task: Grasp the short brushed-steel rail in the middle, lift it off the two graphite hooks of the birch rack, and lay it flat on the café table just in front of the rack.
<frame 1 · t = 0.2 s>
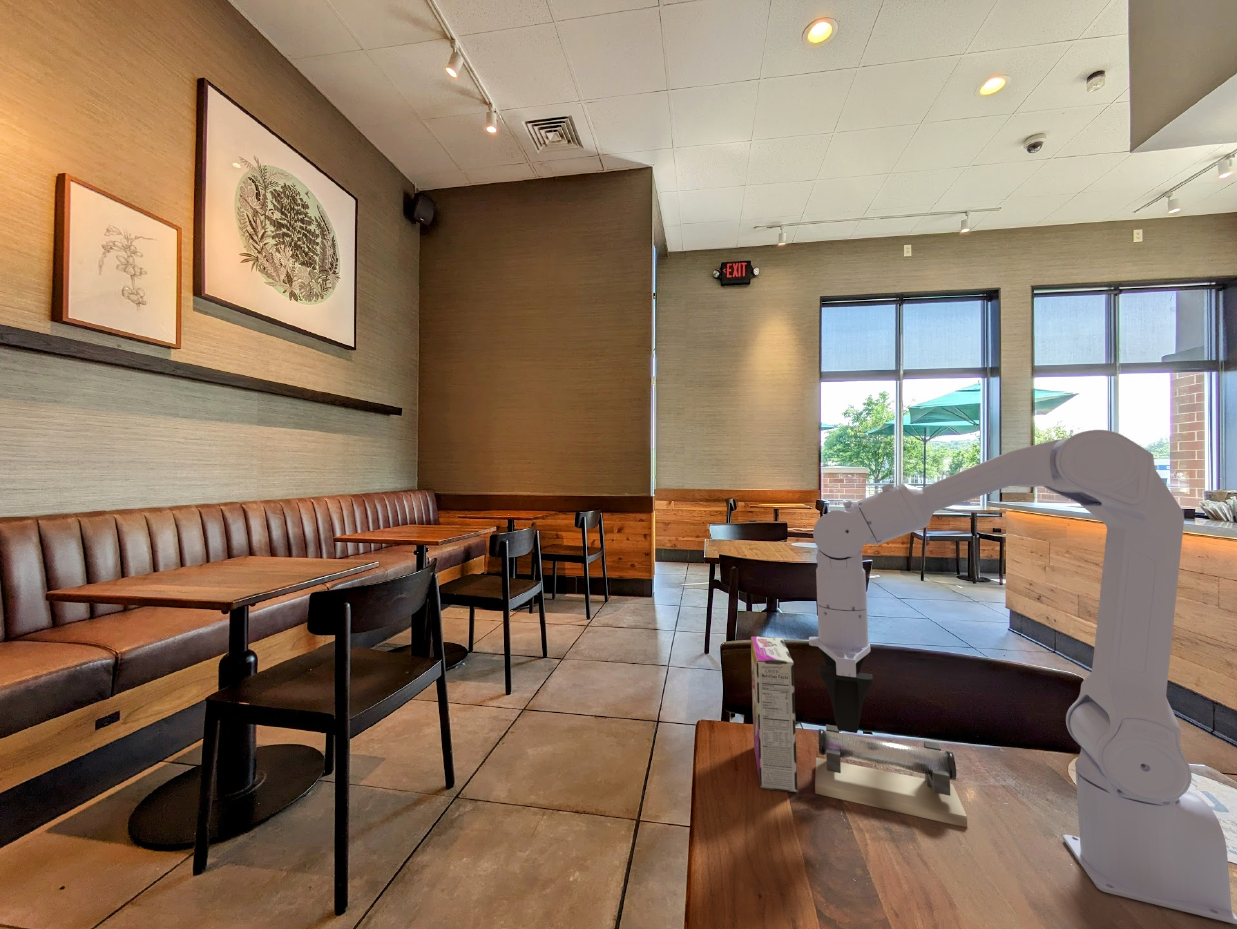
hand: (845, 717, 60), 10 cm above the table, tool pointing down, fingers open, 7 cm apart
candy bar box: (773, 770, 67), on the table
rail: (882, 753, 61), point 5 cm above the table, touching rack
rack: (884, 793, 61), on the table
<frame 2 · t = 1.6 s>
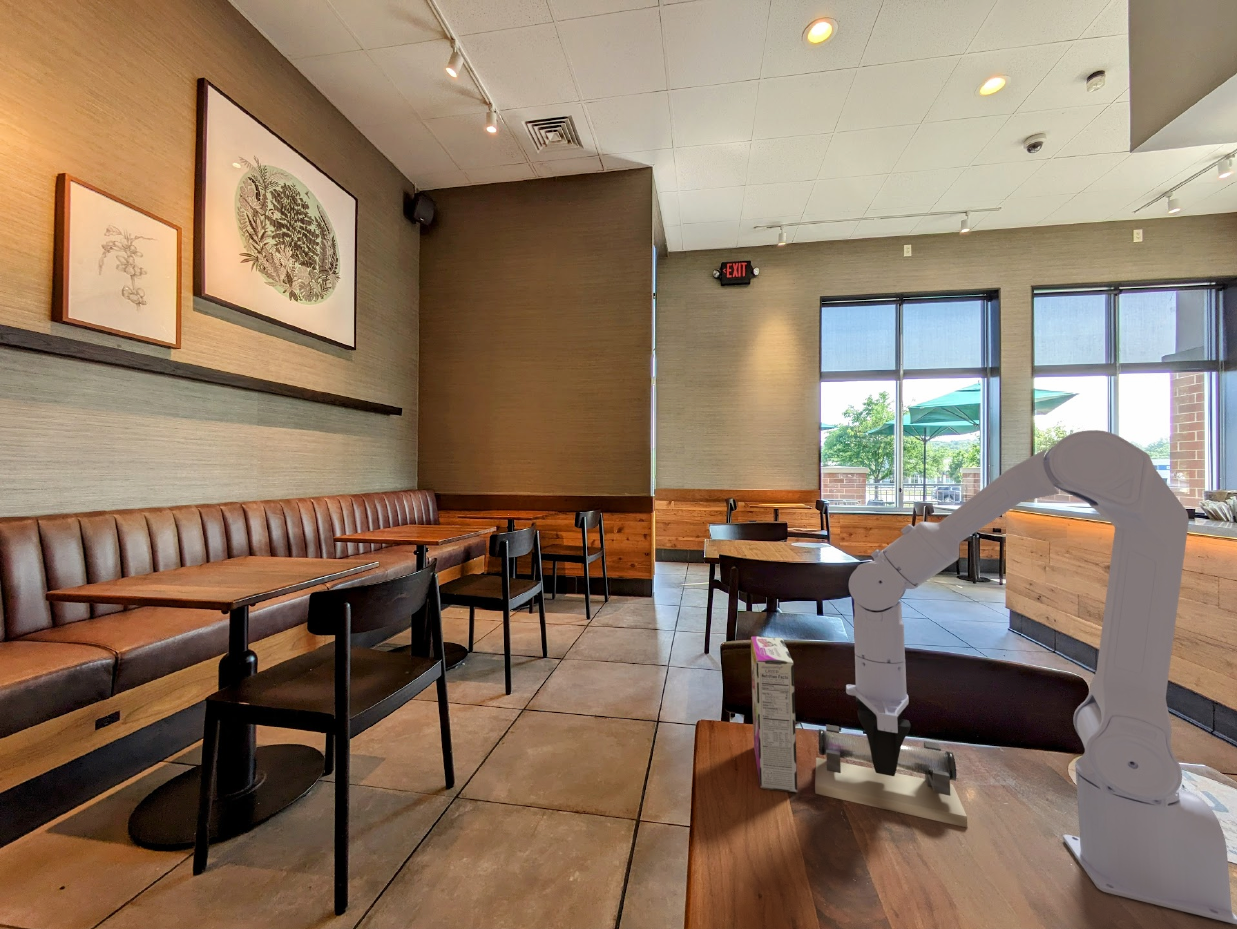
hand: (883, 766, 61), 3 cm above the table, tool pointing down, fingers closed on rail, 3 cm apart
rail: (882, 753, 61), point 5 cm above the table, touching gripper, rack
everything else where it was.
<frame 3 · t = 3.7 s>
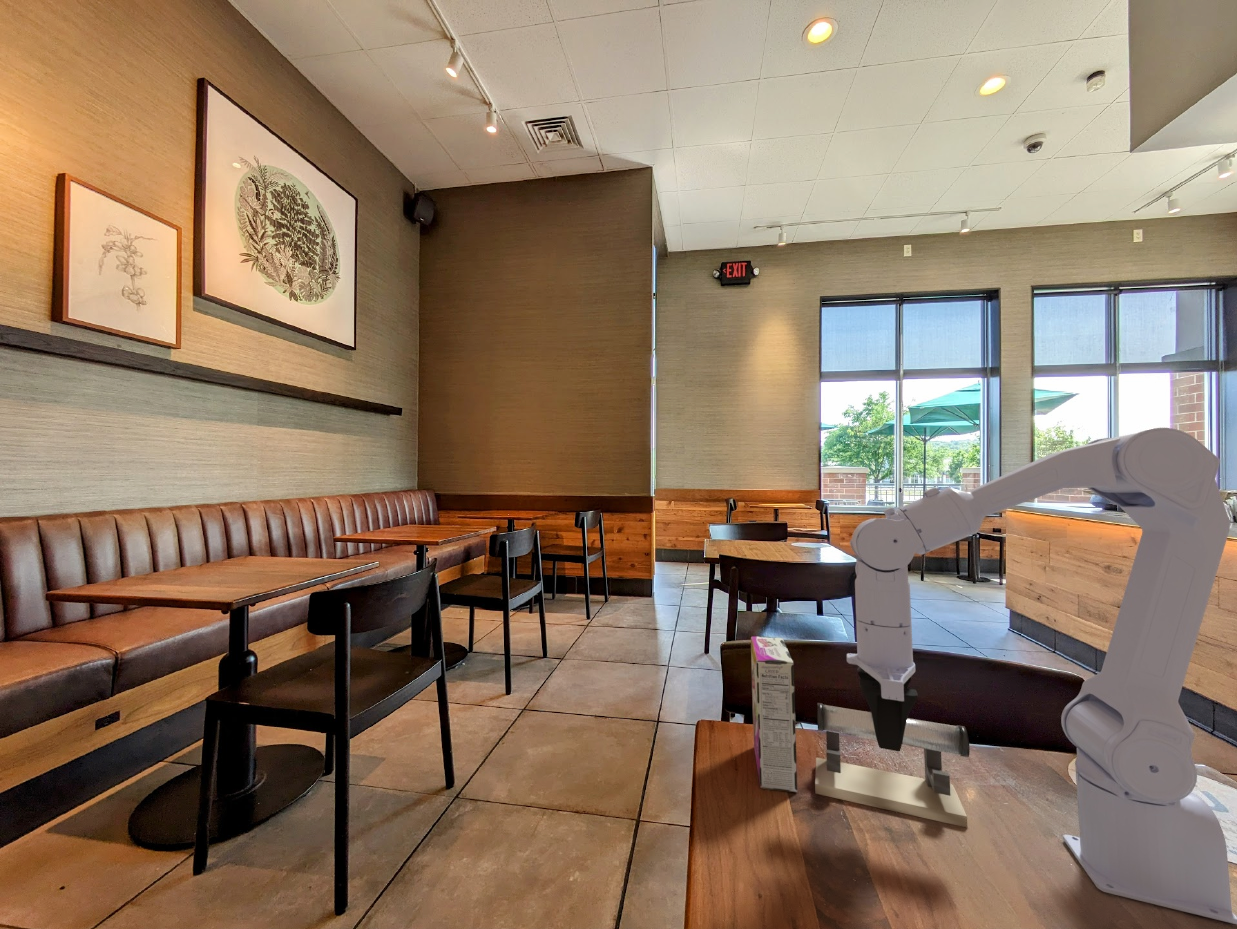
hand: (887, 741, 56), 9 cm above the table, tool pointing down, fingers closed on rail, 3 cm apart
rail: (887, 728, 56), point 11 cm above the table, touching gripper
everything else where it was.
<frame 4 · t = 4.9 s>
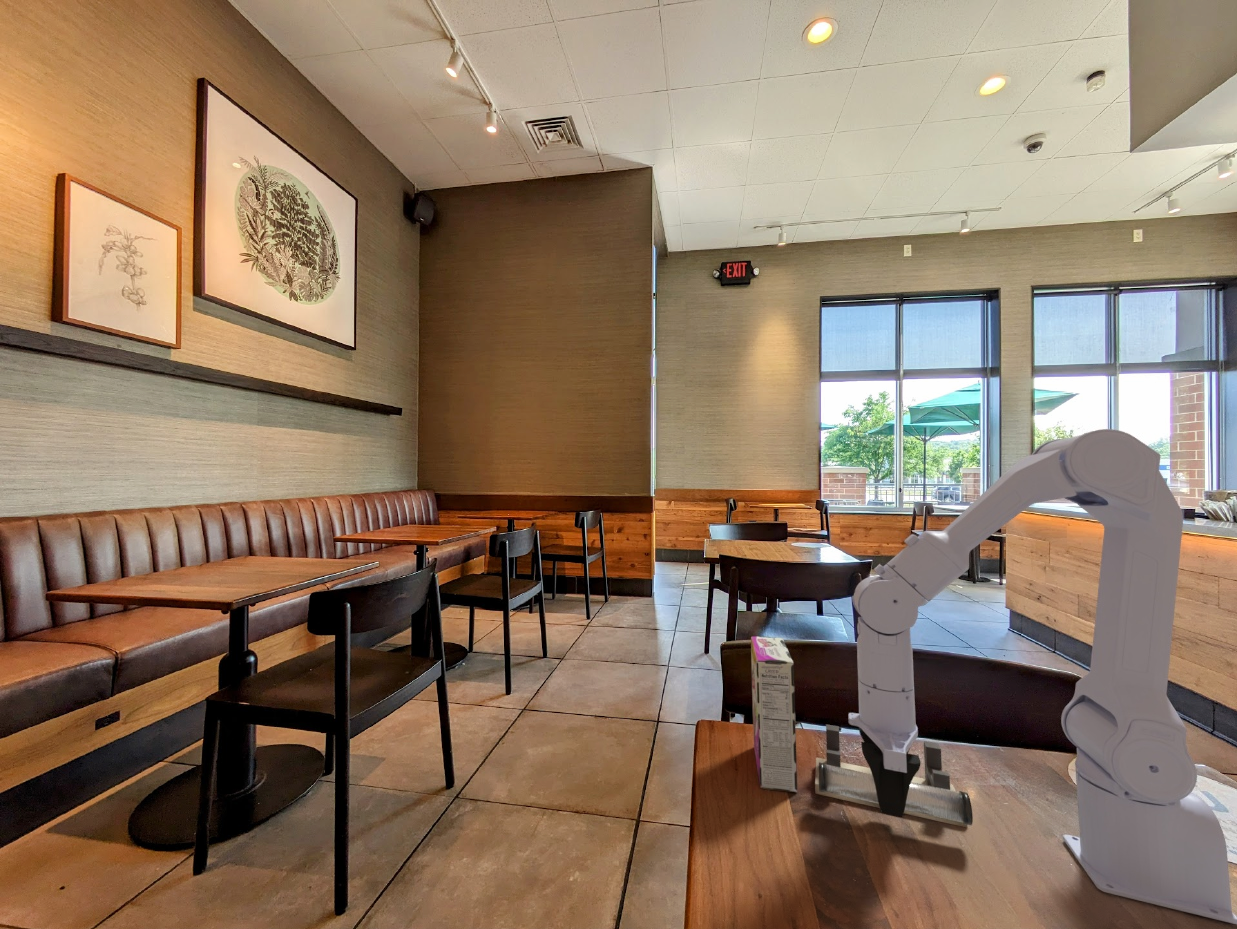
hand: (889, 805, 55), 2 cm above the table, tool pointing down, fingers closed on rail, 3 cm apart
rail: (889, 791, 55), point 4 cm above the table, touching gripper
everything else where it was.
when the fingers open (2 cm above the table, at t = 5.7 s): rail drops 2 cm, point 1 cm above the table.
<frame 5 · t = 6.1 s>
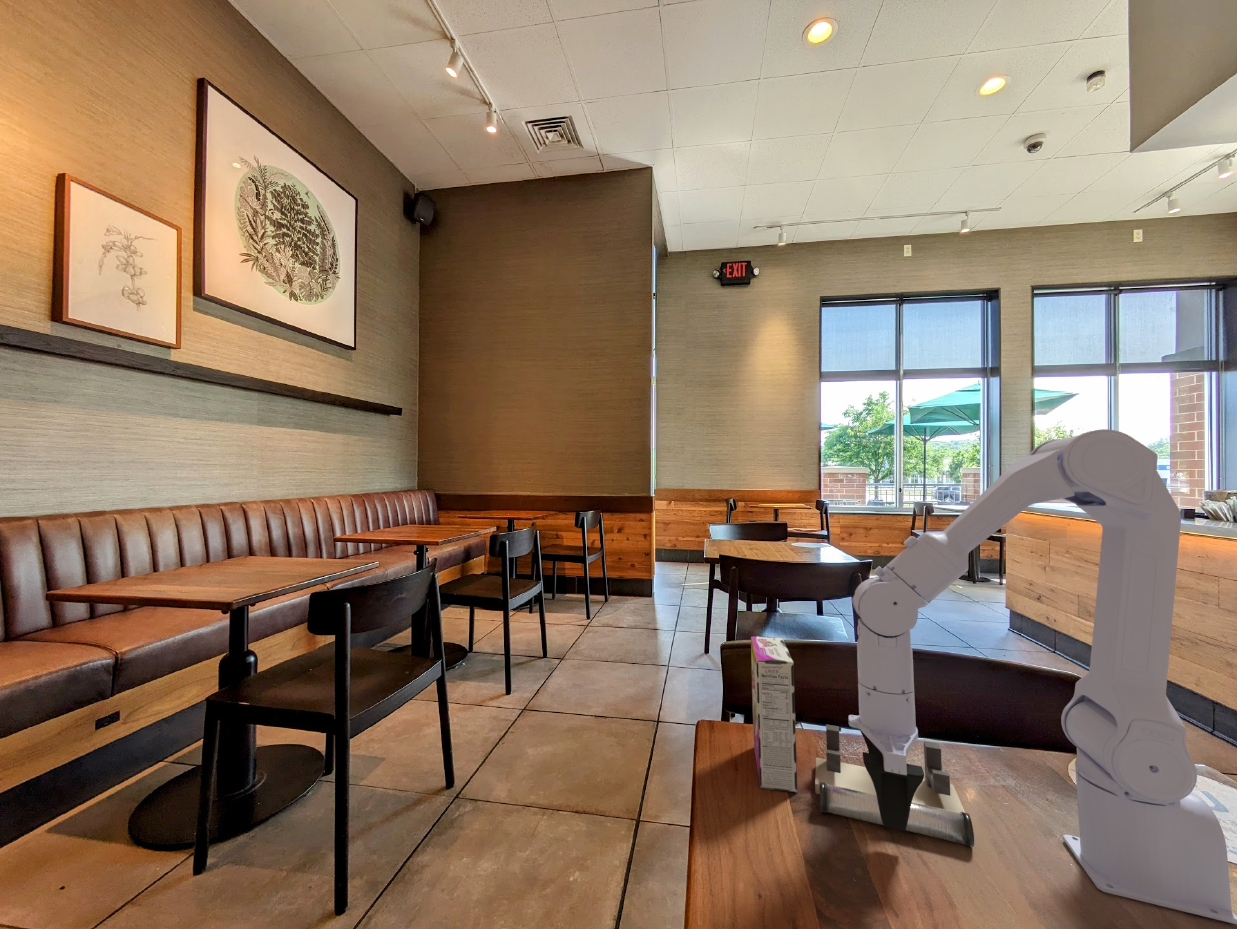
hand: (889, 807, 55), 2 cm above the table, tool pointing down, fingers open, 7 cm apart
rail: (891, 812, 55), point 1 cm above the table
everything else where it was.
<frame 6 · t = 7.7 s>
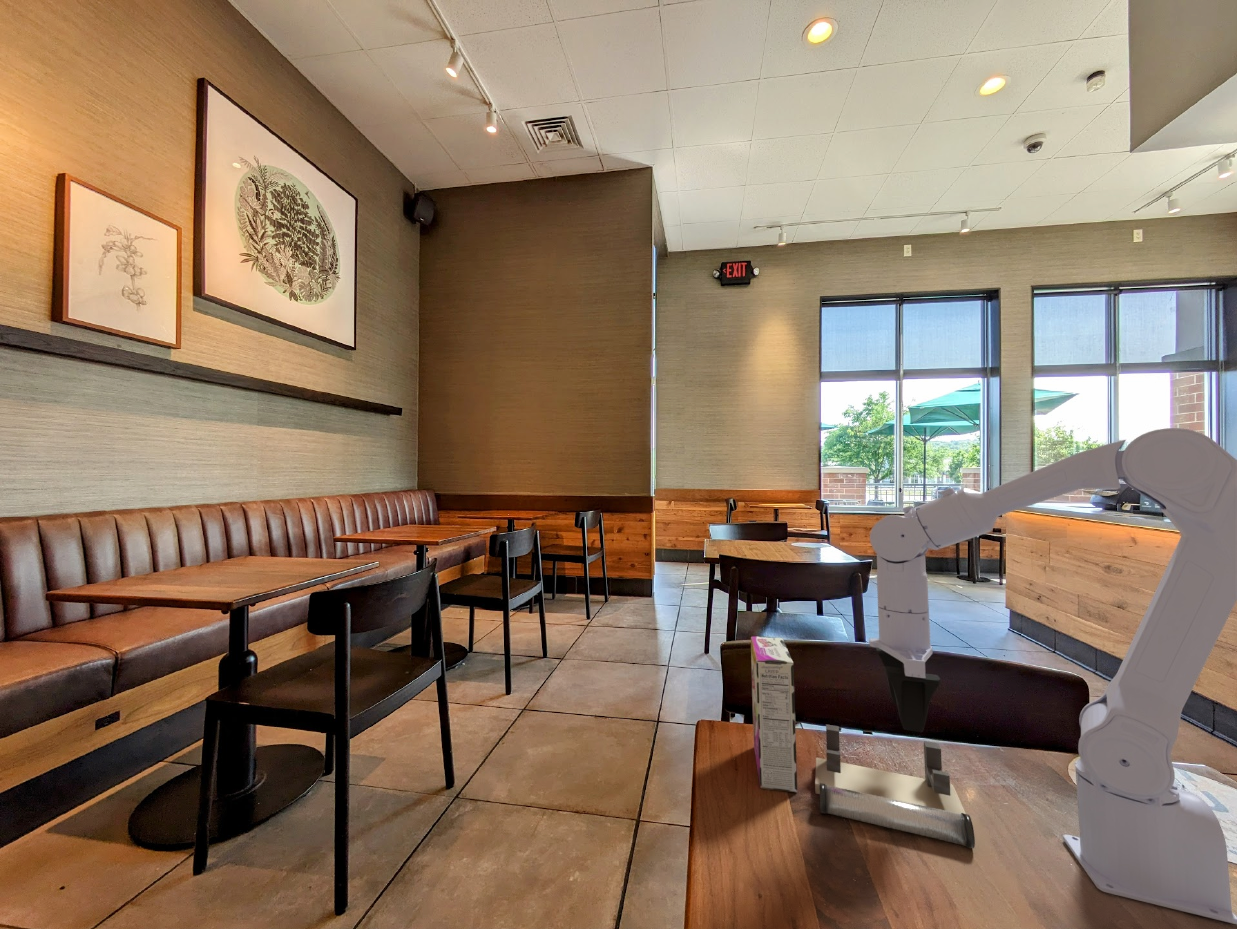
hand: (907, 716, 62), 9 cm above the table, tool pointing down, fingers open, 7 cm apart
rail: (891, 813, 55), point 1 cm above the table, tilted 10°
everything else where it was.
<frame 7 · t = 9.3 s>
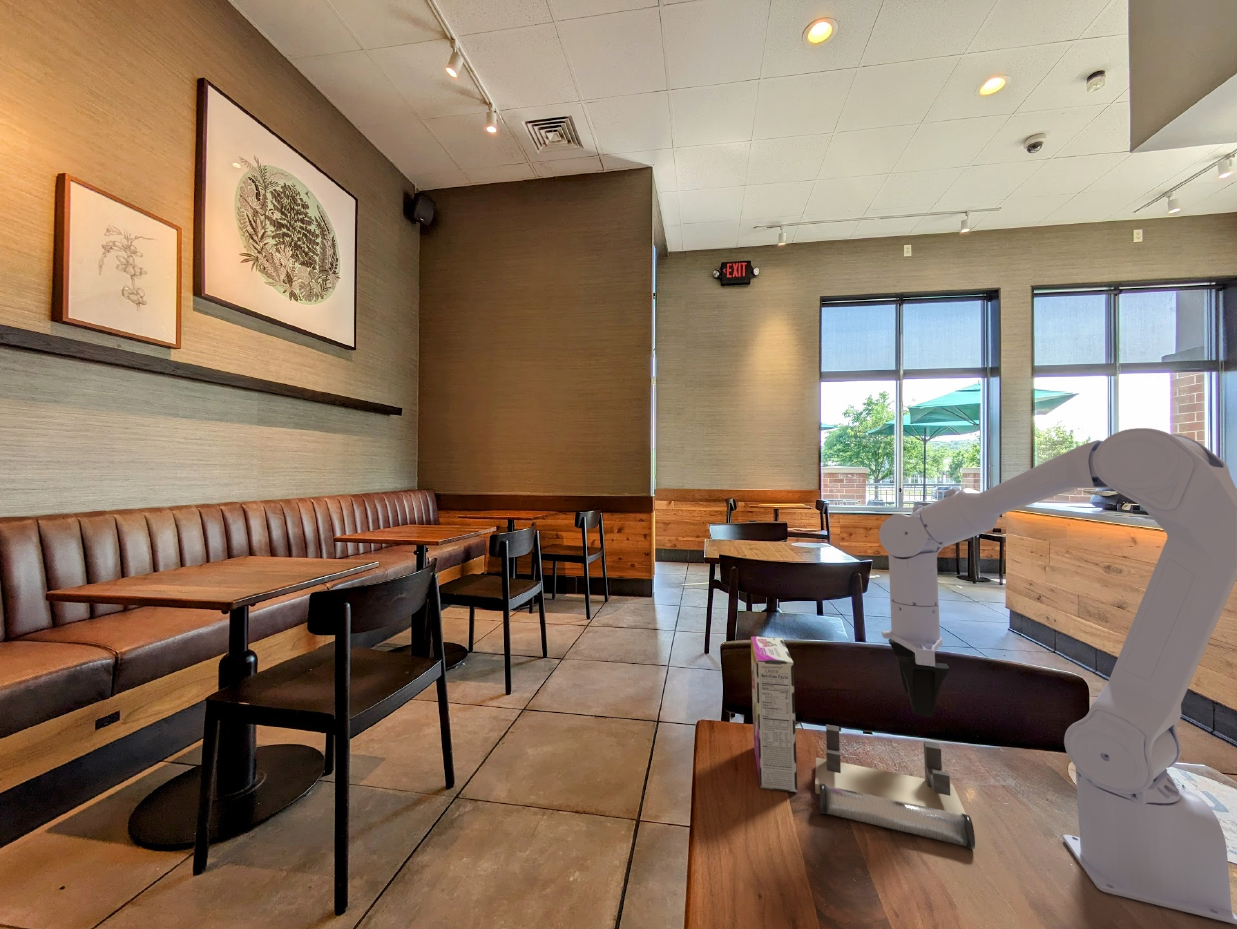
hand: (918, 703, 66), 9 cm above the table, tool pointing down, fingers open, 7 cm apart
nothing on the table moved.
at the end: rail inside the target area (0.2 cm from its centre), point 1.5 cm above the table; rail touching table; the gripper is holding nothing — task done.
